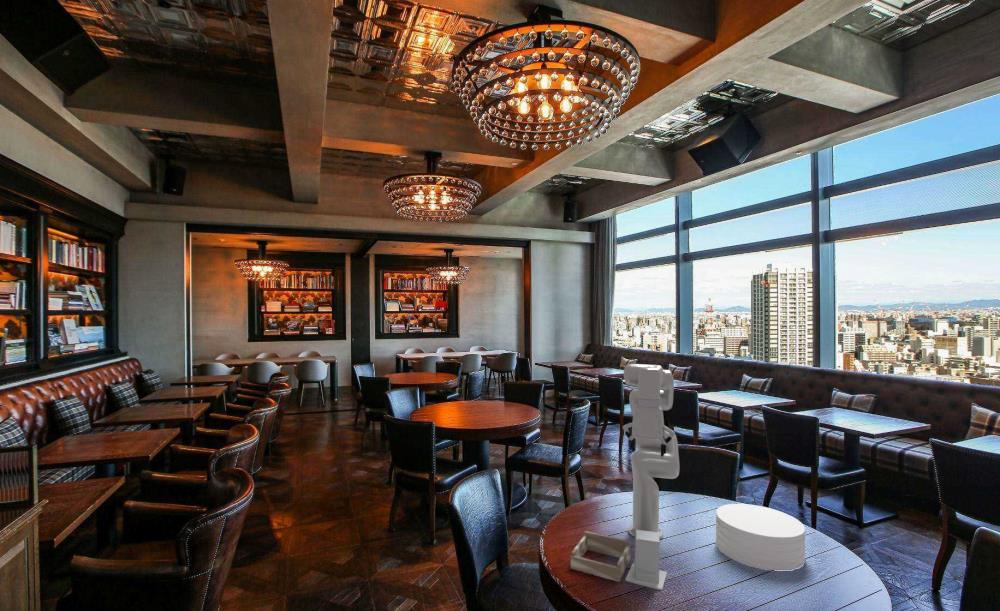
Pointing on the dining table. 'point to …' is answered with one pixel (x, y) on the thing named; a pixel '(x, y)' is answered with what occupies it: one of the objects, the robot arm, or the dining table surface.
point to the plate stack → (760, 537)
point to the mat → (650, 584)
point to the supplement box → (647, 555)
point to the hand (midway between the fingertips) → (647, 453)
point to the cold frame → (606, 547)
